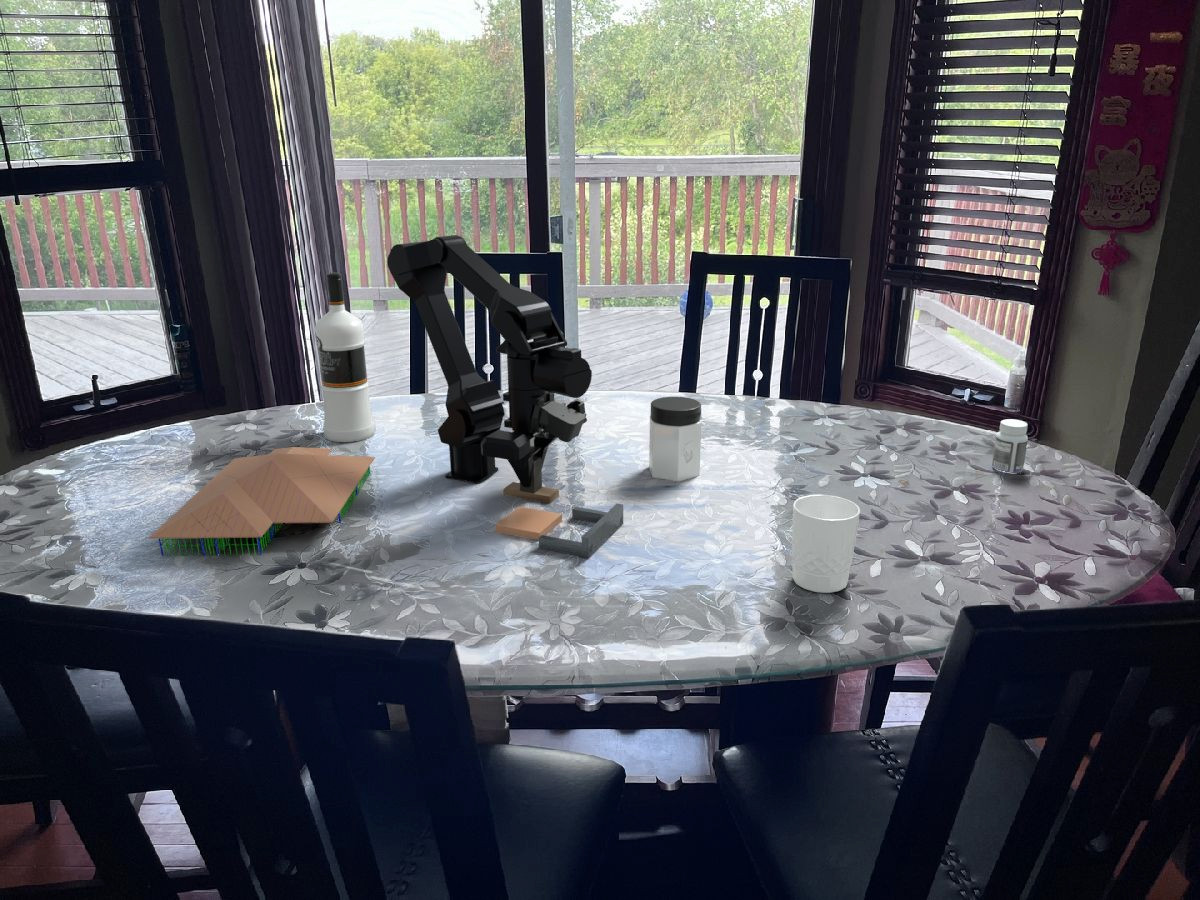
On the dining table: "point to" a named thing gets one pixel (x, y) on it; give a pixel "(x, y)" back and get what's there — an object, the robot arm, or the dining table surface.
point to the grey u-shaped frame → (593, 537)
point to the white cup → (823, 541)
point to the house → (267, 496)
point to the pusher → (533, 486)
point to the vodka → (343, 370)
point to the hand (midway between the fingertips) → (530, 483)
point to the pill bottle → (1010, 446)
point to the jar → (675, 438)
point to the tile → (528, 523)
